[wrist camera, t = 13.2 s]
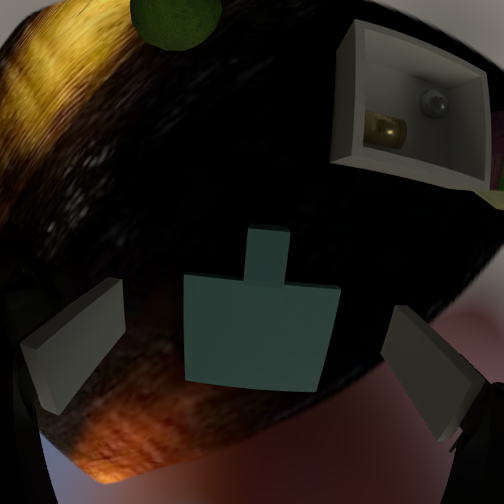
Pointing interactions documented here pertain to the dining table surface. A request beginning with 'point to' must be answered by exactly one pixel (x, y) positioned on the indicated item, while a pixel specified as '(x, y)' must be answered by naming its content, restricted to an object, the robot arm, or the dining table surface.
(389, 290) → the dining table surface
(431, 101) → the steel ball
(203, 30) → the avocado
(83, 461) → the dining table surface
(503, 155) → the box
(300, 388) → the lid
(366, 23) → the tub
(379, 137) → the brass roller
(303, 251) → the dining table surface
